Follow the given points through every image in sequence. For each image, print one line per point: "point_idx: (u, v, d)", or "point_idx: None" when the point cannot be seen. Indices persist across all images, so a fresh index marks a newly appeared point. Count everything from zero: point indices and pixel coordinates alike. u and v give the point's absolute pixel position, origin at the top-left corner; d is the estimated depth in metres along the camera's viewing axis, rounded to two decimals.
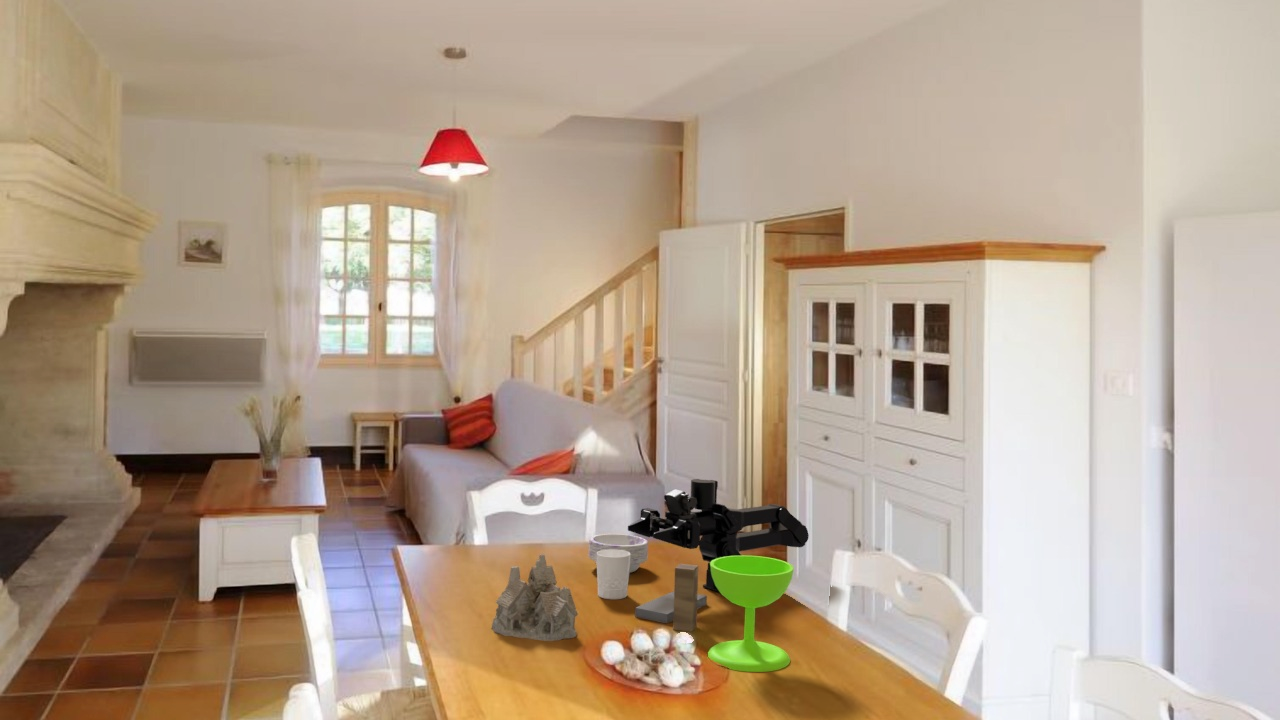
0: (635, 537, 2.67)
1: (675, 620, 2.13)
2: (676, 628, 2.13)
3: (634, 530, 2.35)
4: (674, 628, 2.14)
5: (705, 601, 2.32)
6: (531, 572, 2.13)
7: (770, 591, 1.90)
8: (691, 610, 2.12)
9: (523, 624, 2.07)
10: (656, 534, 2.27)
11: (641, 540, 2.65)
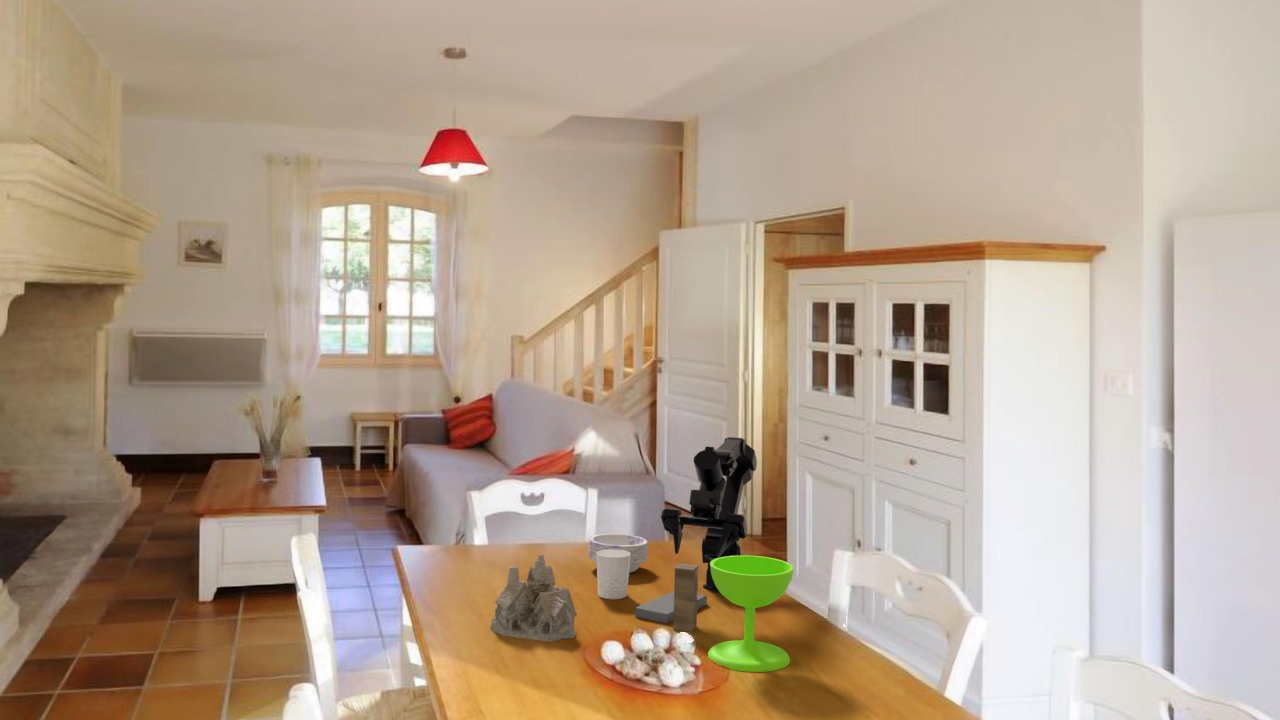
0: (635, 537, 2.67)
1: (675, 620, 2.13)
2: (676, 628, 2.13)
3: (679, 548, 2.25)
4: (674, 628, 2.14)
5: (705, 601, 2.32)
6: (530, 572, 2.13)
7: (770, 591, 1.90)
8: (691, 610, 2.12)
9: (522, 624, 2.07)
10: (718, 554, 2.21)
11: (641, 540, 2.65)
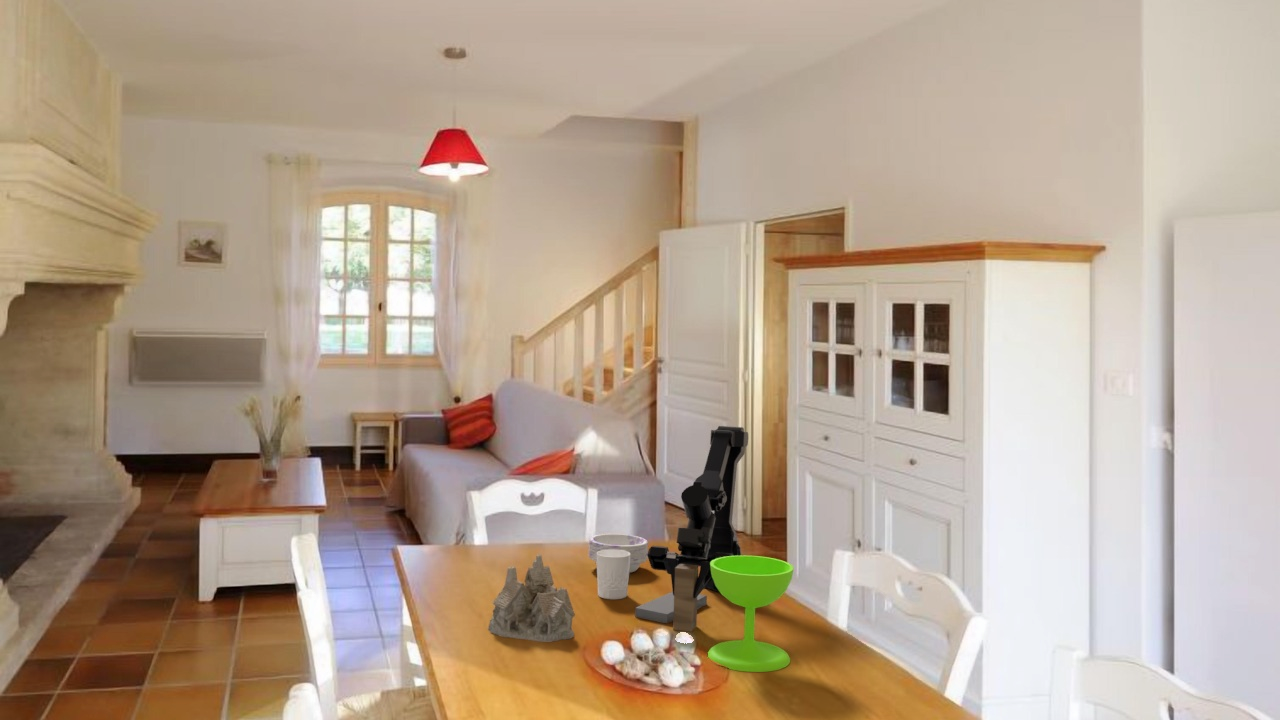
0: (635, 537, 2.67)
1: (675, 620, 2.13)
2: (676, 628, 2.13)
3: None
4: (674, 628, 2.13)
5: (705, 601, 2.32)
6: (528, 573, 2.13)
7: (770, 591, 1.90)
8: (691, 610, 2.12)
9: (520, 625, 2.07)
10: (696, 594, 2.13)
11: (641, 540, 2.65)
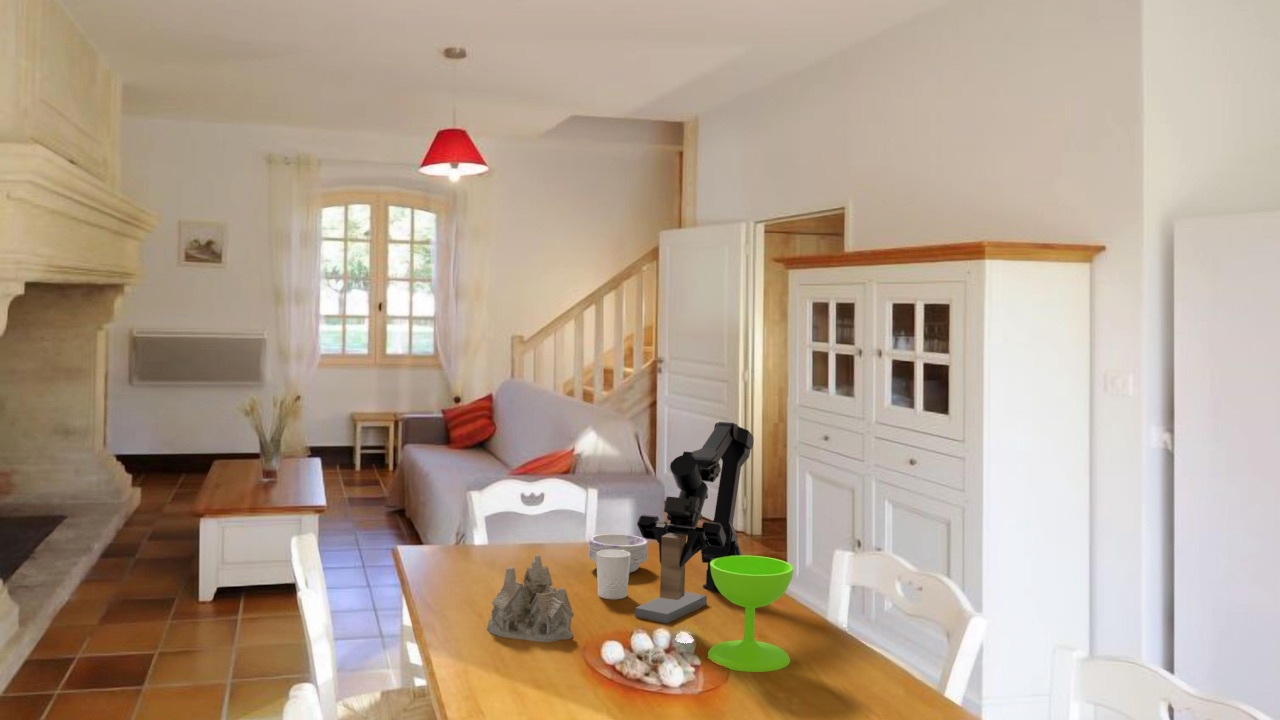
0: (635, 537, 2.67)
1: (662, 588, 2.15)
2: (663, 596, 2.15)
3: None
4: (661, 596, 2.15)
5: (705, 601, 2.32)
6: (527, 573, 2.13)
7: (770, 591, 1.90)
8: (677, 578, 2.13)
9: (519, 625, 2.07)
10: (682, 563, 2.14)
11: (641, 540, 2.65)
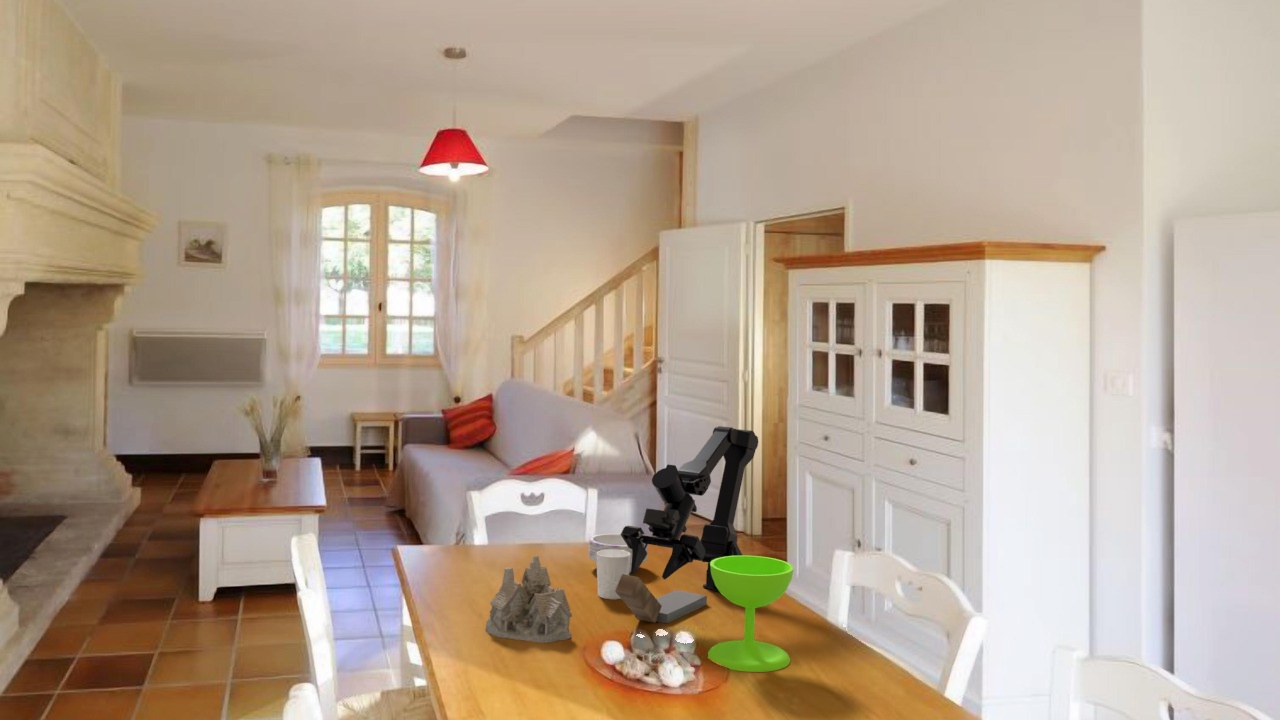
0: None
1: (637, 615, 2.18)
2: (641, 619, 2.19)
3: (637, 567, 2.21)
4: (639, 619, 2.19)
5: (705, 601, 2.32)
6: (525, 573, 2.12)
7: (770, 591, 1.90)
8: (646, 613, 2.14)
9: (517, 626, 2.06)
10: (665, 575, 2.16)
11: None
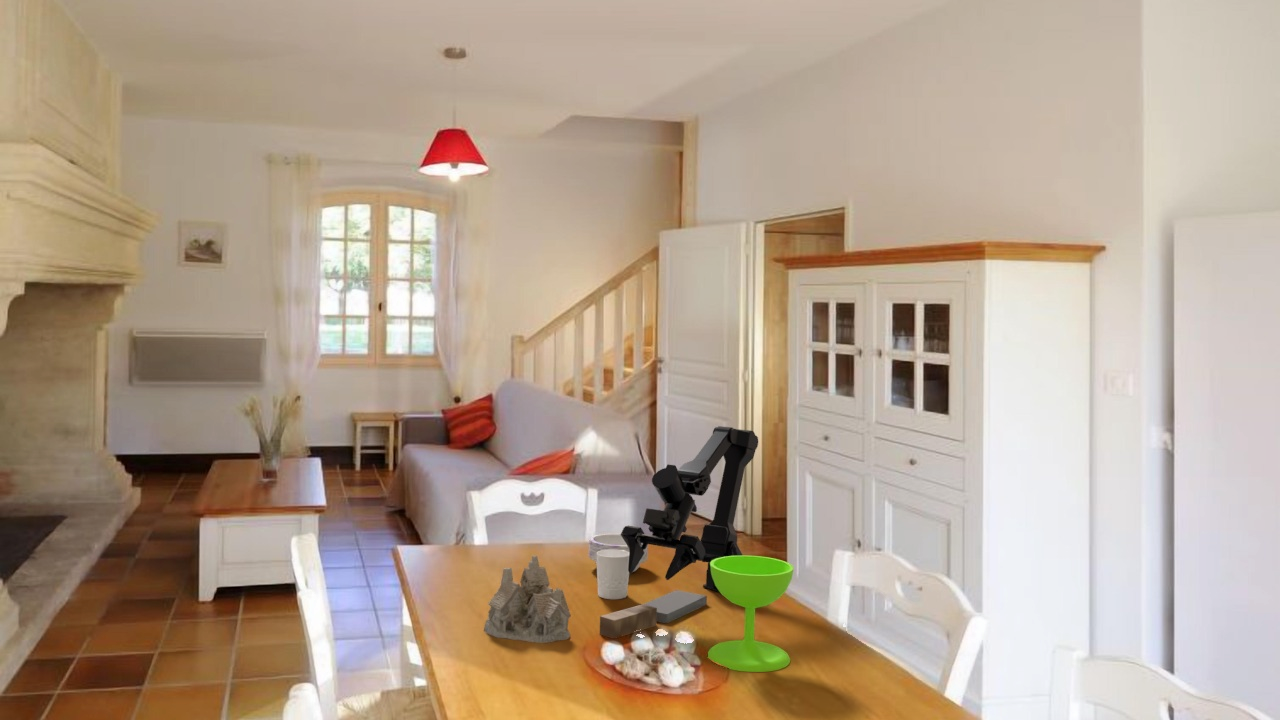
0: None
1: None
2: None
3: (634, 567, 2.21)
4: None
5: (705, 601, 2.32)
6: (524, 573, 2.12)
7: (770, 591, 1.90)
8: None
9: (516, 626, 2.06)
10: (668, 576, 2.15)
11: None
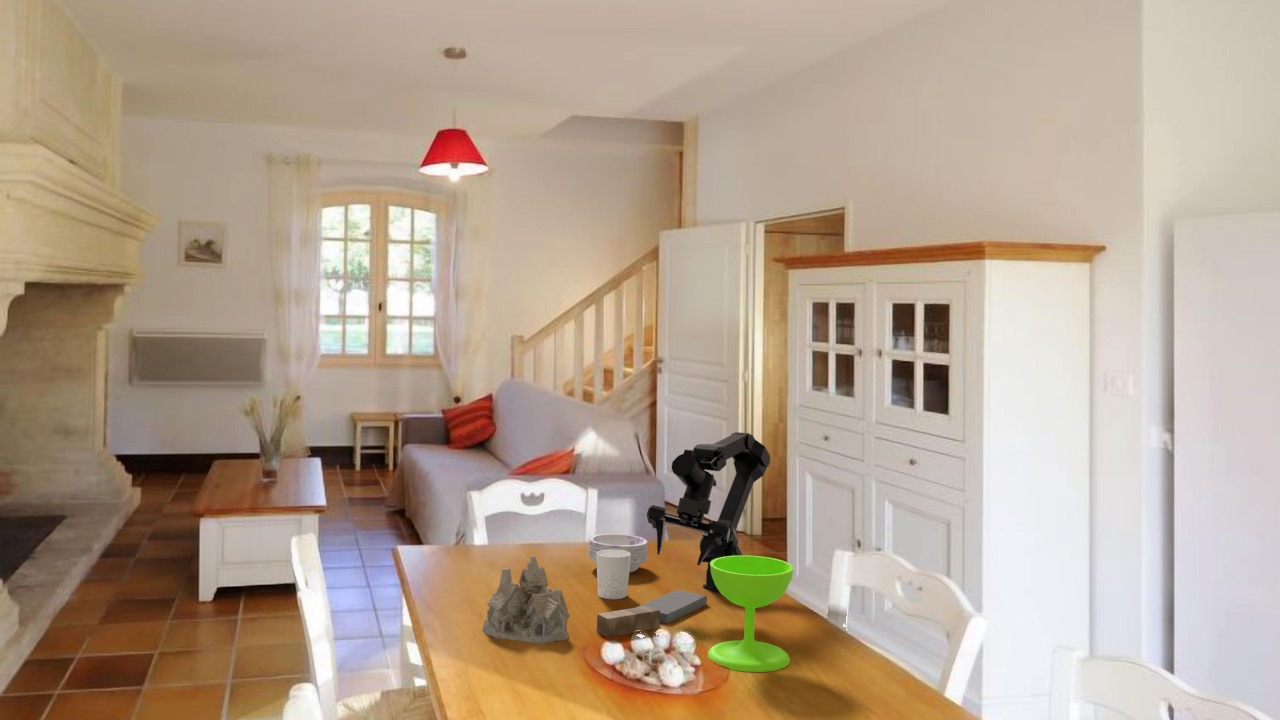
0: (635, 537, 2.67)
1: None
2: None
3: (661, 548, 2.29)
4: None
5: (705, 601, 2.32)
6: (522, 574, 2.12)
7: (770, 591, 1.90)
8: None
9: (515, 626, 2.06)
10: (700, 562, 2.26)
11: (641, 540, 2.65)
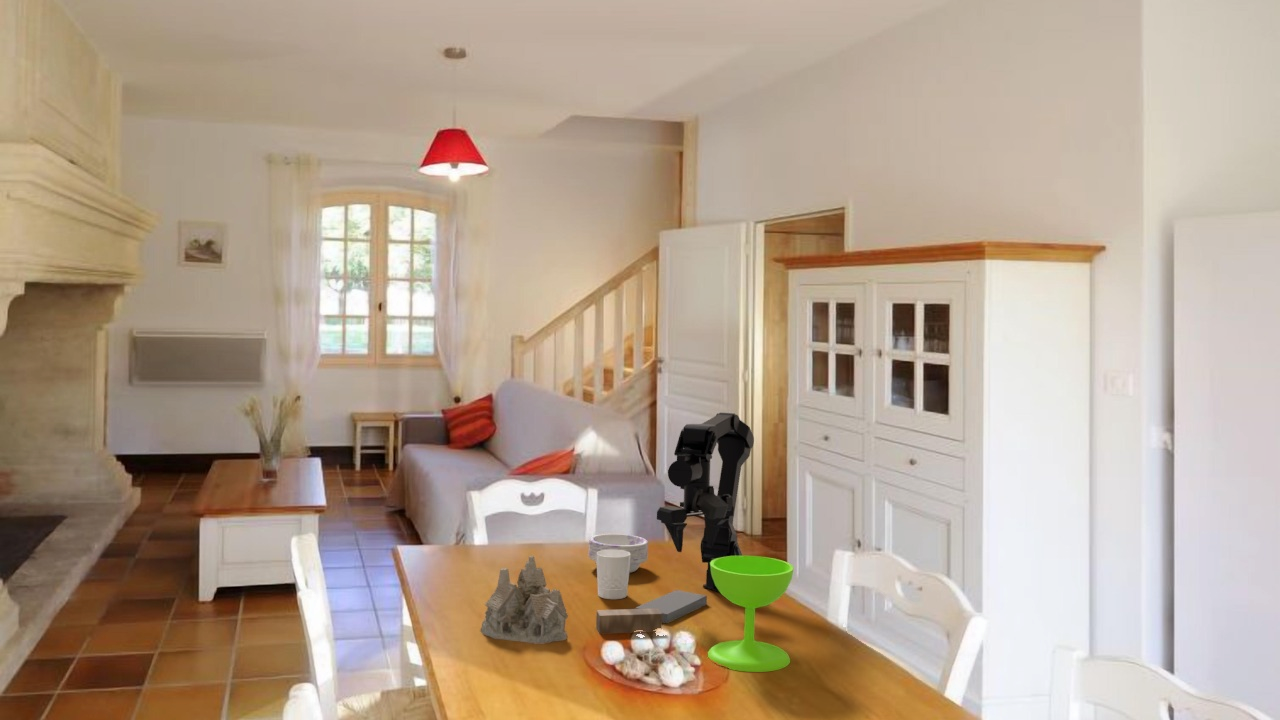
0: (635, 537, 2.67)
1: None
2: None
3: None
4: None
5: (705, 601, 2.32)
6: (520, 574, 2.12)
7: (770, 591, 1.90)
8: None
9: (513, 627, 2.06)
10: None
11: (641, 540, 2.65)
